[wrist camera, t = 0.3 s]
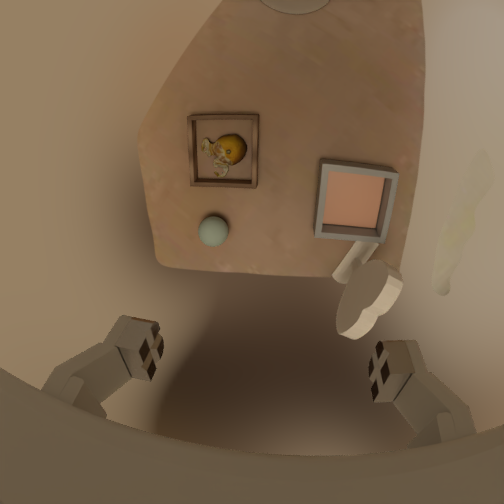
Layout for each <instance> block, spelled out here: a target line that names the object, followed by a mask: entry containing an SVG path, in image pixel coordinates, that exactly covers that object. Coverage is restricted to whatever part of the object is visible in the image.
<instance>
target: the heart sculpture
mask: <svg viewBox="0 0 504 504" xmlns="http://www.w3.org/2000/svg"><path fill="white" fill-rule="evenodd" d="M378 245H379V244H378V243H374V242H362V241H356V242H355V243H354V245H353V246H352V248H351V249H350V250H349V252H348V253H347V255H346V256H345V258H344V259H343V260H342V262H341V263H340V265H339V266H338V267H337V269H336V270H335V271H334V273H333V274H332V276H333V278H334V279H335V280H336V281H337V282H338V283H342V284H347V285H346V288H345V290H344V292H343V295H342V297H341V300H340V303H339V307H338V311H337V315H336V328H337V331H338V334H340V335H343V336H346V337H348V338H351V339H358V338H360V337H362V336H363V335H364V334H366V333H367V332H368V331H369V330H370V329H371V328H372V327H373V325H374V323H375V321H376V319H377V317H378V316H379V315H382V314H384V313H386V312H387V311H388V310H389V309H390V308H391V306H392V305H393V303H394V302H395V300H396V299H397V297H398V295H399V293H400V292H401V289H402V286H403V279H402V275H401V274H400V272H399V271H398V270H397V269H396V268H395V267H393V266H391V265H389V264H388V263H386V262H384V261H382V260H375V259H373V260H371V261H369V262H367V260H368V259H369V258H370V256H371V255H372V253H373V252H374V251H375V249H376V248H377V247H378Z"/></svg>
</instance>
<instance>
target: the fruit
mask: <svg viewBox="0 0 504 504" xmlns="http://www.w3.org/2000/svg"><path fill="white" fill-rule="evenodd" d="M205 147H206V148H207V150H206V151H204V148H205ZM246 150H247V145H246V144H245V142H244V140H243V139H242V138H240V137H239V136H237V135H226V136H222V137H221V138H219V139H218V140H217V141H216V143H214V144H211V143H210V142H209V141H208V139H207V138H205V139H204V140H203V142H202V151H203V152H204V153H206V152H207V155H208V157H209V156H211V155H216V156H217V158H216V159H214V162H213V165H214V167H215V168H217V167H222V168H223V170H224V171H225V172H226V173H224V174H223V172H222V174H223V175H219V174H218V172H217V171H215V172H214V173H215V174H216V175H217V177H224V176H226V174H227V173H228V165H229V164H230V165H235V164H237V163H239V162H240V161H241V160H242V159H243V158H244V156H245V153H246Z"/></svg>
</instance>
